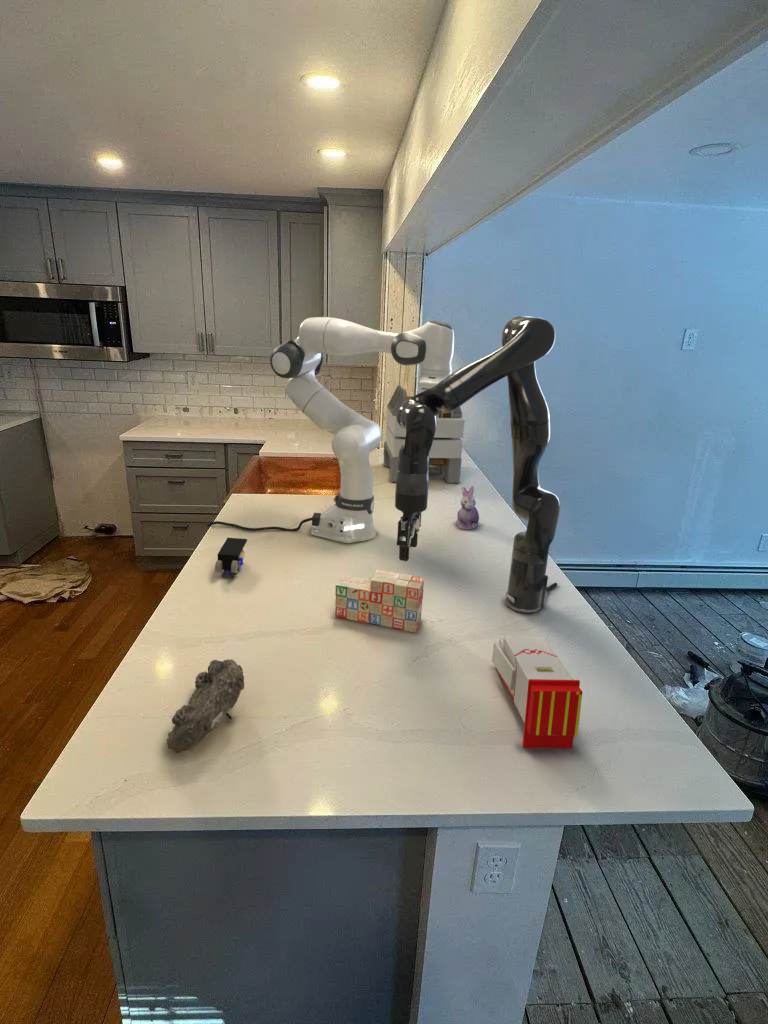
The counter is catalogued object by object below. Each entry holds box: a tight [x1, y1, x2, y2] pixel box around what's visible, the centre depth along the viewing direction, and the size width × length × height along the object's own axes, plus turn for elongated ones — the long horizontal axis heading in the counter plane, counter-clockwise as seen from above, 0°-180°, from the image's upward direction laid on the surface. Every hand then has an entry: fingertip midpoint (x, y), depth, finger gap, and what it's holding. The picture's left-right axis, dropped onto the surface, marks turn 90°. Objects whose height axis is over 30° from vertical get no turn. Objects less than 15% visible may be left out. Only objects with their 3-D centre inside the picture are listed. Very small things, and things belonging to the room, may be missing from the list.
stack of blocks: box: [334, 569, 425, 633], centre depth 143 cm, size 21×6×12 cm, turn 74°
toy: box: [491, 636, 583, 749], centre depth 115 cm, size 12×13×30 cm
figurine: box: [456, 485, 480, 530], centre depth 208 cm, size 9×10×15 cm
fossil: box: [166, 658, 245, 754], centre depth 106 cm, size 22×10×15 cm
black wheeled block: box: [214, 537, 248, 578], centre depth 166 cm, size 7×8×15 cm
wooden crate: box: [383, 384, 465, 484], centre depth 268 cm, size 34×33×41 cm
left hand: (431, 426), depth 171 cm, fingers open, 8 cm apart
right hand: (408, 553), depth 137 cm, fingers open, 8 cm apart
